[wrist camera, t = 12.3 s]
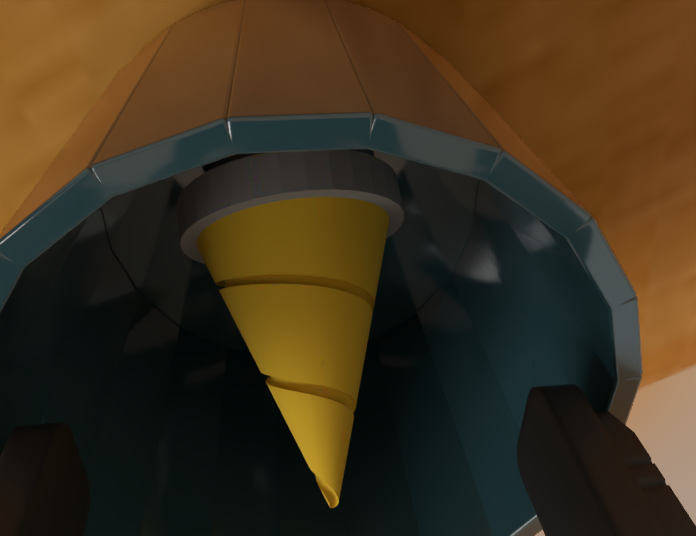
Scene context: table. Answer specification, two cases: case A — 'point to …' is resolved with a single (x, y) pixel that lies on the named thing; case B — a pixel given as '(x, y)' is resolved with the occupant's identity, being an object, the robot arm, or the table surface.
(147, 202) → the pen pot
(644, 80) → the table surface
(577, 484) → the robot arm
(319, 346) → the spiral grooved cone
